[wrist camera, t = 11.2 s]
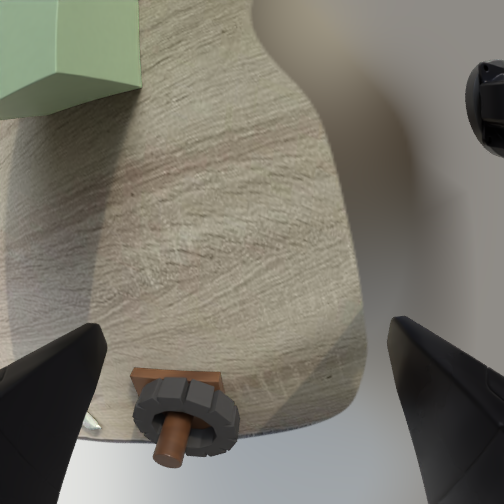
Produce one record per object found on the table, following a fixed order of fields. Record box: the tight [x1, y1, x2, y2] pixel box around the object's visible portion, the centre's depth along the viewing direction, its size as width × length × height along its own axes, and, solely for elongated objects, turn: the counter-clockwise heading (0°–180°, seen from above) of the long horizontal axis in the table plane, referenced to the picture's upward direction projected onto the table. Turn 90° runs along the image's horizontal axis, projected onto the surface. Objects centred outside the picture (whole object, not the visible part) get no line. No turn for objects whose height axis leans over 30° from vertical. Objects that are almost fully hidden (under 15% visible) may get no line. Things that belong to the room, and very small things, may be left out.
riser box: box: [0, 0, 142, 120], centre depth 12 cm, size 8×7×9 cm
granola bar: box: [83, 412, 102, 430], centre depth 29 cm, size 7×2×1 cm, turn 24°
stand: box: [130, 368, 225, 468], centre depth 24 cm, size 8×8×7 cm
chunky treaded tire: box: [132, 377, 240, 457], centre depth 25 cm, size 9×9×2 cm
